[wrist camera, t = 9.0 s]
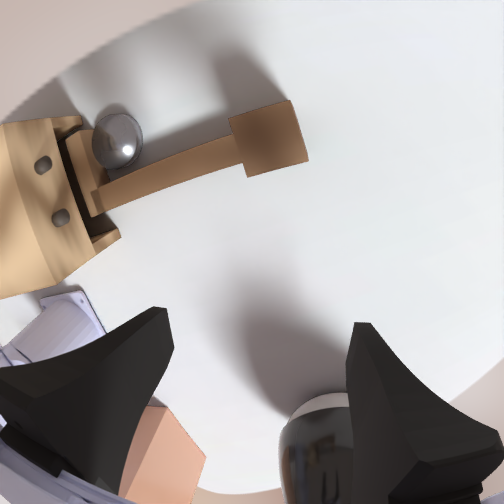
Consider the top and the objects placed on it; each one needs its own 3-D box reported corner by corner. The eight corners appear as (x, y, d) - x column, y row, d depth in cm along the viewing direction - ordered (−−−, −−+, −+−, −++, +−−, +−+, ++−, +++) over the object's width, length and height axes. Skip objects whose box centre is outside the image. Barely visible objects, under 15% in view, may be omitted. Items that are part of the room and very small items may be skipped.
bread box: (128, 235, 22) (63, 283, 15) (56, 259, 25) (0, 299, 18) (87, 111, 19) (8, 117, 12) (21, 159, 21) (-44, 179, 14)
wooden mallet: (307, 153, 18) (308, 161, 13) (107, 217, 22) (67, 240, 18) (273, 50, 16) (263, 26, 11) (79, 137, 20) (35, 145, 15)
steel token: (151, 155, 20) (143, 157, 19) (110, 174, 21) (101, 177, 20) (135, 105, 19) (126, 104, 17) (95, 127, 20) (85, 128, 19)
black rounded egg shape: (401, 378, 24) (429, 528, 10) (362, 438, 28) (365, 556, 14) (295, 367, 25) (274, 536, 11) (275, 429, 29) (252, 554, 15)
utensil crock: (206, 457, 34) (180, 534, 22) (140, 448, 37) (110, 512, 25) (167, 407, 30) (124, 499, 19) (99, 400, 33) (54, 470, 22)
